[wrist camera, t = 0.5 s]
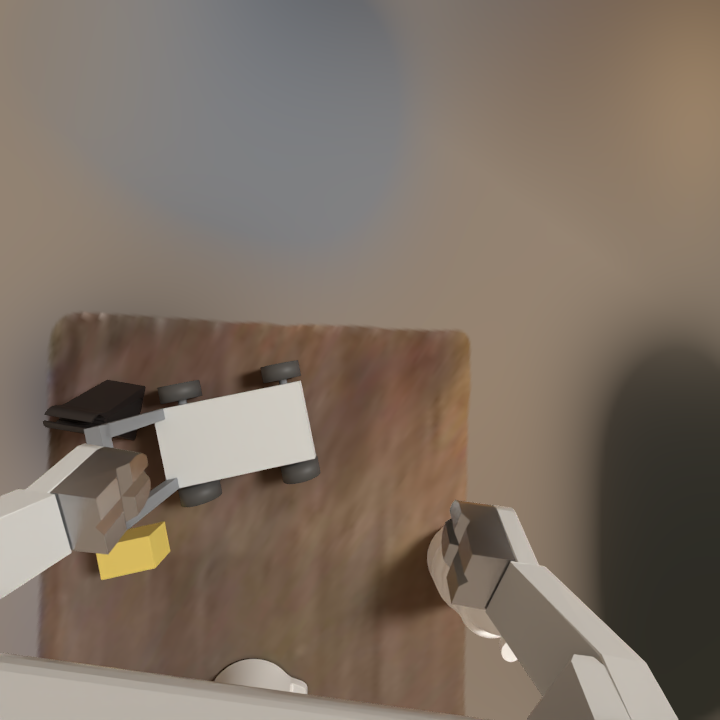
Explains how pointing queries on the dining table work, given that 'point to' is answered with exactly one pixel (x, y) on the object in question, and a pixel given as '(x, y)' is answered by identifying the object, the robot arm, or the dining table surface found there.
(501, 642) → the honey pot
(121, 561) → the tall gold block
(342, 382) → the dining table surface
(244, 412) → the flatbed trolley
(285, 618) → the dining table surface
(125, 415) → the phone stand
